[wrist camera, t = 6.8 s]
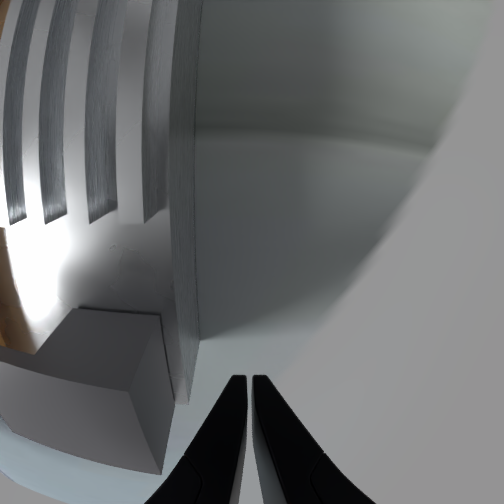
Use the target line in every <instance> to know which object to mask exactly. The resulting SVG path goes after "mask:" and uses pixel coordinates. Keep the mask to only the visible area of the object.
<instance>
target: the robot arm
mask: <svg viewBox="0 0 504 504" xmlns="http://www.w3.org/2000/svg"><path fill="white" fill-rule="evenodd" d="M251 401H252V435H253V436H252V437H253V447H254V453H255V459H256V464H257V470H258V475H259V480H260V486H261V491H262V496H263V502H264V504H376V503H375V502H373V501H372V500H371V499H370V498H369V497H367V496H366V495H365V494H364V493H363V492H362V491H360V489H358V488H357V487H356V486H355V485H354V484H353V483H352V482H351V481H350V480H349V479H347V477H346V476H344V474H343V473H342V472H341V471H340V470H339V469H338V468H337V467H336V465H335V464H334V463H333V462H332V461H331V459H330V458H329V457H328V456H327V455H326V453H324V451H323V450H322V448H321V447H320V446H319V445H318V443H317V442H316V441H315V440H314V438H313V437H312V436H311V434H310V433H309V432H308V430H307V429H306V428H305V426H304V425H303V424H302V422H301V421H300V420H299V419H298V417H297V416H296V415H295V413H294V412H293V411H292V409H291V408H290V407H289V405H288V404H287V402H286V401H285V400H284V398H283V397H282V396H281V394H280V393H279V392H278V390H277V389H276V387H275V386H274V385H273V383H272V382H271V380H270V379H269V378H268V376H267V375H253V377H252V394H251ZM247 410H248V397H247V377H246V375H232V376H231V378H230V380H229V381H228V383H227V385H226V386H225V388H224V390H223V391H222V393H221V395H220V396H219V398H218V400H217V401H216V403H215V405H214V406H213V408H212V410H211V411H210V413H209V415H208V416H207V418H206V419H205V421H204V423H203V424H202V426H201V428H200V429H199V431H198V432H197V434H196V436H195V437H194V439H193V440H192V442H191V443H190V445H189V447H188V448H187V450H186V451H185V453H184V456H182V457H181V459H180V460H179V462H178V463H177V465H176V466H175V468H174V469H173V471H172V472H171V473H170V475H169V476H168V478H167V479H166V480H165V481H164V482H163V483H162V485H161V486H160V487H159V488H158V489H157V490H156V492H155V493H154V494H153V495H152V496H151V497H150V498H149V499H148V500H147V501H146V502H145V503H144V504H238V503H239V495H240V488H241V480H242V473H243V466H244V458H245V451H246V439H247V438H246V437H247Z"/></svg>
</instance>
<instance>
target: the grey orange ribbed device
mask: <svg viewBox="0 0 504 504" xmlns="http://www.w3.org/2000/svg"><path fill="white" fill-rule="evenodd" d="M201 9H202V0H0V333H1V336H2V338H3V340H4V343H5V345H6V347H7V348H11V349H14V350H18V351H21V352H25V353H29V354H33V355H35V353H36V352H37V351H38V349H39V348H40V347H41V346H42V344H43V343H44V342H45V341H46V339H47V338H48V337H49V336H50V334H51V333H52V332H53V331H54V330H55V328H56V327H57V326H58V325H59V324H60V322H61V321H62V320H63V319H64V318H65V316H66V315H67V314H68V313H69V312H70V311H71V309H72V308H77V309H86V310H96V311H106V312H117V313H129V314H142V315H157V316H159V317H160V324H161V331H162V337H163V344H164V350H165V356H166V362H167V368H168V373H169V378H170V384H171V389H172V394H173V399H174V403H175V404H186V405H189V400H190V394H191V388H192V382H193V377H194V371H195V365H196V360H197V354H198V349H199V343H200V336H199V322H198V306H197V288H196V266H195V235H194V126H195V97H196V76H197V59H198V45H199V32H200V20H201Z"/></svg>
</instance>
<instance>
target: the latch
mask: <svg viewBox="0 0 504 504" xmlns="http://www.w3.org/2000/svg"><path fill="white" fill-rule="evenodd" d="M174 408H175V403H174V399H173V394H172V389H171V384H170V378H169V373H168V368H167V362H166V356H165V350H164V344H163V337H162V331H161V324H160V317H159V316H157V315H142V314H129V313H117V312H106V311H96V310H86V309H77V308H72V309H71V311H70V312H69V313H68V314H67V315H66V316H65V318H64V319H63V320H62V321H61V322H60V324H59V325H58V326H57V327H56V328H55V330H54V331H53V332H52V333H51V334H50V336H49V337H48V338H47V339H46V341H45V342H44V343H43V344H42V346H41V347H40V348H39V349H38V351H37V352H36V353H35V355H33V354H29V353H25V352H21V351H18V350H14V349H11V348H7V347H4V346H1V345H0V415H1V416H2V418H3V419H4V421H5V422H6V423H7V425H8V426H9V428H10V429H11V430H12V432H14V433H16V434H18V435H21V436H23V437H25V438H28V439H30V440H32V441H35V442H37V443H40V444H43V445H45V446H48V447H51V448H53V449H56V450H59V451H62V452H65V453H68V454H71V455H74V456H77V457H81V458H84V459H87V460H91V461H95V462H98V463H102V464H106V465H110V466H115V467H119V468H124V469H128V470H133V471H139V472H144V473H150V474H156V475H162V469H163V464H164V458H165V453H166V448H167V443H168V437H169V432H170V427H171V422H172V418H173V413H174Z"/></svg>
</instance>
